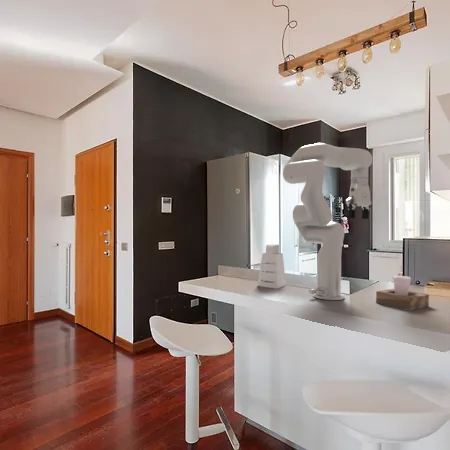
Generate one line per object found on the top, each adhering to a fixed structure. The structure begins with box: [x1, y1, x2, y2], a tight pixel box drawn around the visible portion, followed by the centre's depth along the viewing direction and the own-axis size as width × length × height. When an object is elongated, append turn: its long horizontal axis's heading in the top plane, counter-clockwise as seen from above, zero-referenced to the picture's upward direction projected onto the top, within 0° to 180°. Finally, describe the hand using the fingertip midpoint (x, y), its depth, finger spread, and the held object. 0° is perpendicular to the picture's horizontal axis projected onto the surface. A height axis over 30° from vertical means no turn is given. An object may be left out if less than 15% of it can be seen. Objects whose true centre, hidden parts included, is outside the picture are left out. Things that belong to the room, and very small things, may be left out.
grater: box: [257, 244, 287, 289], centre depth 159 cm, size 10×10×20 cm
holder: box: [375, 288, 430, 312], centre depth 126 cm, size 13×13×4 cm
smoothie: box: [392, 265, 412, 296], centre depth 126 cm, size 6×6×14 cm
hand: (358, 218), depth 153 cm, fingers open, 9 cm apart
